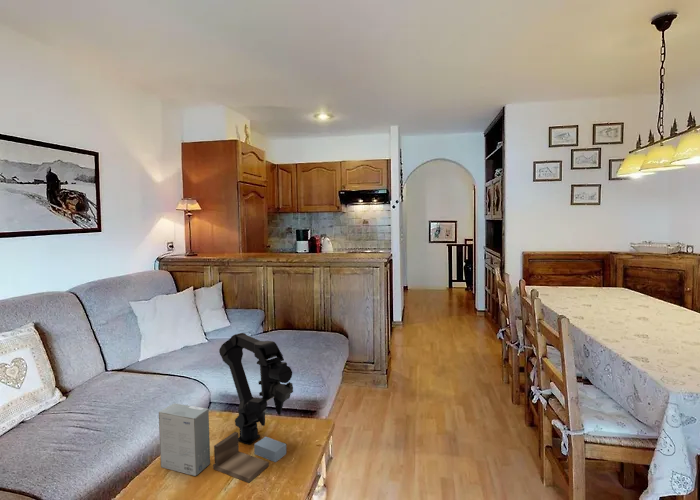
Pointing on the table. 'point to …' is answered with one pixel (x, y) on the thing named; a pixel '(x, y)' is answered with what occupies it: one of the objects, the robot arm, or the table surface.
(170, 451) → the hard drive box
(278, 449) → the grey rectangular block
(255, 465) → the walnut shelf
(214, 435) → the table surface
